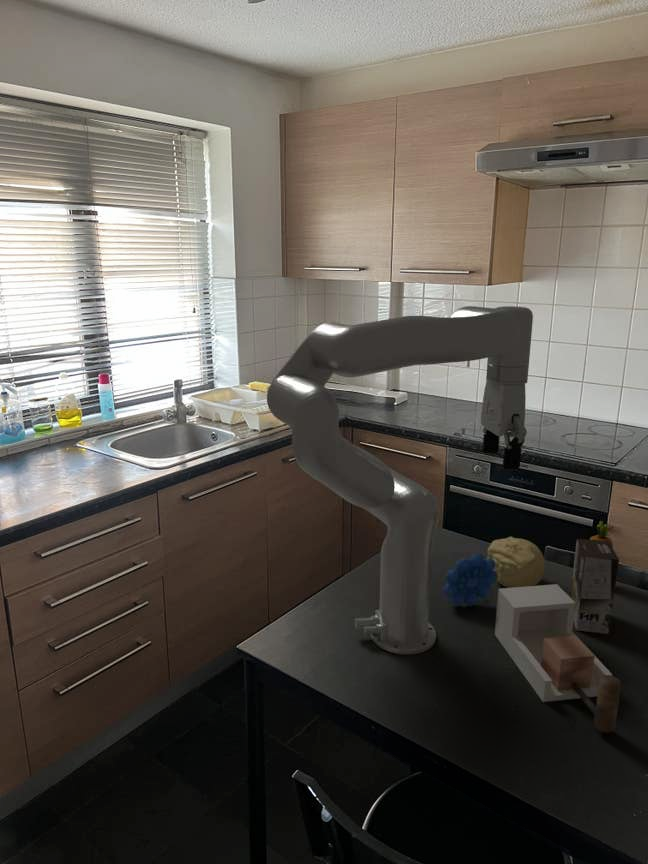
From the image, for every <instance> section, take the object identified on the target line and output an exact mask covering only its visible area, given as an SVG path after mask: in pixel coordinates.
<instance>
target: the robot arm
mask: <svg viewBox="0 0 648 864" xmlns="http://www.w3.org/2000/svg"><path fill="white" fill-rule="evenodd" d="M533 320H534V315H533V311H532V310H531V309H530V308H528V307H526V306H525V307H524V306H513V305H512V306H511V305H510V306H508V305H507V306H497V307H495V308H493V307H492V308H491V307H485V306H484V307H483V306H474V305H473V306H472V305H471V306H468V305H467V306H463V307H459V308H457V309H455V310H454V311H453V312H452V313H451V314H450V315H449V317H445V316H444V317H443V316H442V317H441V316H429V315H405V316H404V315H403V316H400V317H399V316H398V317H393V318H387V319H382V320H380V319H379V320H376V321H367V322H364V323H357V324H345V323H340V322H335V321H334V322H333V321H330V322H329V321H327V322H325V323H322V324H320V325H317V327H315V328H314V329H313V330H312V331H311V332H310V333H309V334H308V335H307V336H306V337H305V339H304V340H303V341H302V342H301V344H300V345H299V346H298V347H297V348H296V350H295V351H294V352H293V353H292V355H291V356H290V358H288V360H287V361H286V362H285V364H284V365H283V366H282V368H281V369H280V370H279V371H278V373H277V374H276V376H274V378H273V379H272V381H271V383H270V384H269V386H268V390H267V394H266V402H267V404H266V405H267V407H268V409H269V411H270V413H271V414H272V415H273V416H274V417H275V418H276V419H277V420H278V421H280V422H282V423H283V424H285V425H287V426H289V427H290V428H291V446H292V452H293V456H294V459H295V461H296V463H297V464H298V466H299V468H301V470H303V471H304V472H305V473H306V474H307V475H308V476H310V477H312V478H313V479H314V480H316V481H318V482H319V483H321V484H322V485H324V486H325V487H326V488H328V489H329V490H331V491H332V492H334V493H335V494H337V496H339V497H341V498H342V499H343V500H345V501H346V502H348V503H350V504H351V505H354V506H356V507H360V508H361V509H364V510H365V511H367V512H368V513H370V514H372V515H373V516H374V517H376V518H378V519H379V520H380V521H381V522H382V523H384V524H385V525H386V527H387V533H386V536H385V538H384V540H383V543H382V545H381V550H380V575H379V576H380V579H379V581H380V583H379V609H375V611H374V614H375V615H370V617H360V618H359V617H357V618H355V619H354V626H355V629H357V630H359V629H363V632H364V633H363V634H364V635H370V637H371V640H372V641H373V643H375V645H377V646H378V647H379V648H381V649H382V650H385V651H387V652H388V653H389V652H390V653H392V654H396V655H417V654H421V653H424V652H427V651H428V650H430V649H431V648H432V647H433V646H434V645H435V643H436V640H437V639H436V638H437V633H436V630H435V627H434V626H433V625H432V624H431V623H430V622H429V621H430V620H429V619H430V618H429V617H430V615H429V614H430V595H431V578H432V575H431V574H432V558H433V546H434V539H435V535H436V531H437V527H438V524H439V520H440V519H439V518H440V506H439V503H438V501H437V499H436V497H435V496H434V495H433V493H432V492H431V491H430V490H429V489H428V488H426V487H424V486H422V485H421V484H419V483H417V482H415V480H412V479H410V478H408V477H406V476H404V475H403V474H401V473H400V472H398V471H396V470H394V469H392V468H391V467H389V466H388V465H386V464H385V463H384V462H383V461H382V460H381V459H379V458H378V457H376V456H375V455H374V454H372V453H370V452H368V451H367V450H365V449H364V448H363V449H362V448H361V447H359V446H357V445H354V444H353V443H352V442H351V441H349V440H348V439H346V438H345V437H343V436H342V435H341V433H340V429H339V422H340V410H339V406H338V402H337V399H336V398H335V395H334V394H333V393H332V392H331V391H330V389H329V388H327V387H326V386H325V385H326V384H327V382H328V381H329V380H330V379H331V377H332V376H333V375H337V376H339V377H342V378H343V377H344V378H359V377H364V376H369V375H373V374H379V373H383V372H387V371H392V370H397V369H398V370H399V369H403V368H409V367H414V366H427V365H439V364H450V363H463V362H469V361H470V362H471V361H479V360H483V359H487V362H486V374H485V375H486V377H485V378H486V379H485V385H484V386H485V387H484V391H483V398H482V407H481V414H480V415H481V416H480V424H481V426H482V427H483V428H482V432H483V438H482V453H483V454H486V455H487V454H498V453H499V449H500V437H502V436H503V438H504V443H505V447H504V448H503V458H502V468H503V469H504V470H511V469H512V470H513V469H520V468H521V467H520V466H521V459H522V458H521V457H522V456H521V455H522V449H524V448H523V447H524V443H525V438H526V436H527V433H528V430H527V428H526V426H525V422H526V421H525V420H526V398H527V397H526V384H528V380H529V368H530V355H531V346H532V344H531V343H532V333H533V322H534V321H533ZM511 438H512V439H511Z"/></svg>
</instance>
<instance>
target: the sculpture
mask: <svg viewBox="0 0 648 864" xmlns="http://www.w3.org/2000/svg"><path fill="white" fill-rule="evenodd" d="M489 558H490V559H493V560H494V561H495V568H494V569H493V571H496V572H497V575H498V579H497V581H496V582H498V583H499V584H501V585H502V586H503V587H505V588H514V587H527V586H538V584H539V583H540V581H542V578H543V577H544V574H545V571H546V569H545V568H546V561H545V556H544V555H543V553H542V551H541V550H540V548H539V547H538V546H537V545H536V544H534V542H531V541H529V540H527V539H523V538H517V537H513V536H509V537H506V538H501V539H500V538H499V539H495V540H493V541H492V542H491V544H490V546H488V548H487V557H486V559H489Z"/></svg>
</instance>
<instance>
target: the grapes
mask: <svg viewBox="0 0 648 864" xmlns="http://www.w3.org/2000/svg"><path fill="white" fill-rule="evenodd" d="M455 567H456V569H455V568H454V569H450V570H448V572H447V573H446V574H445V581H446V582H447V584H446V585H445V586H444V587H443V594H444V596H445V597H446V598H450V602H451V604H452V605H453V606H456V607H458V606H461V605H462V604H464V605H466V606H468V607H473V606H474V605H476V604H477V603H478V600H479V598H481V599H484V598H487V597H489V595H490V594H491V593H492V592H491V591H492V589H491V588H492V586H491V585H494V584H495V583H496V582H498V581H497V579H498V575H497V572H496V571H493V569H494V568H495V561H494V560H493V559H490V558H489V559H487V558H486V559H485V556H484V554H482V553H475V554H473V555H472V556H471V557H470V559H469V558H468V557H462V558H459V559H458V560H457V561H456V564H455Z"/></svg>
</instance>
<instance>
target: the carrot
mask: <svg viewBox="0 0 648 864" xmlns="http://www.w3.org/2000/svg"><path fill="white" fill-rule="evenodd" d="M596 529H597V535H593V536H591V537H590V538H589V540H604V541H609V543H610V545H611V546H612V548H613V549H614V545H613V544H614V543H613V541H612V539H611V538H610V537H609V533H608V532H609V531H610V530H612V529H614V526H613V525H611V526H609V525H608V524H607V523H606V524H604V521H603V520H600V521H599V524H597V525H596Z"/></svg>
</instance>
